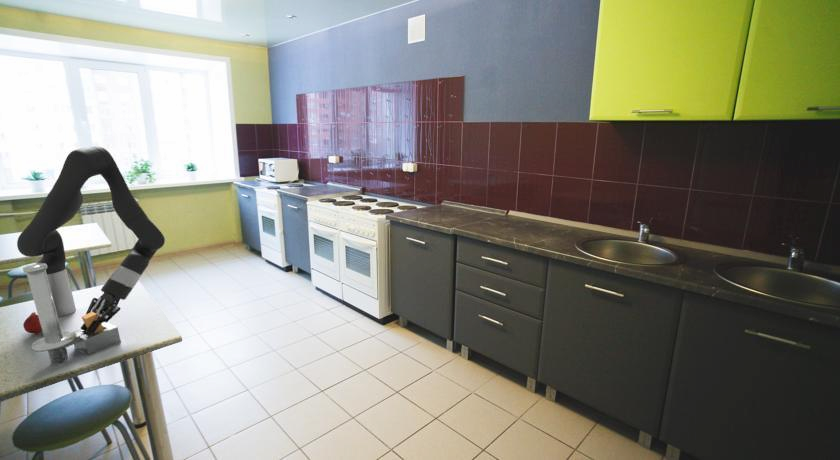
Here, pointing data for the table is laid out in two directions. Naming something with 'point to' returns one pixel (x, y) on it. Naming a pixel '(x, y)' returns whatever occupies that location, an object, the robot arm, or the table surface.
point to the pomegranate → (32, 324)
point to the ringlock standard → (50, 324)
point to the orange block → (89, 319)
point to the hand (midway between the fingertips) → (86, 331)
